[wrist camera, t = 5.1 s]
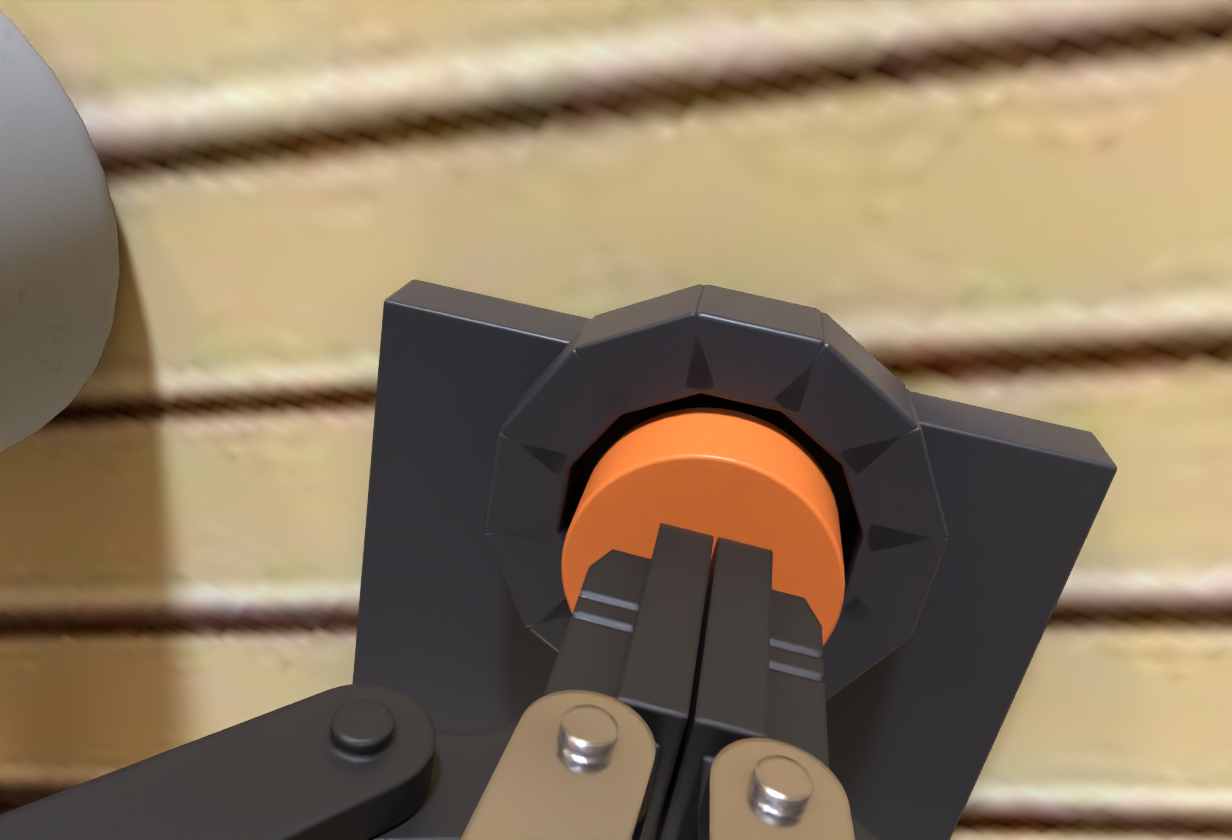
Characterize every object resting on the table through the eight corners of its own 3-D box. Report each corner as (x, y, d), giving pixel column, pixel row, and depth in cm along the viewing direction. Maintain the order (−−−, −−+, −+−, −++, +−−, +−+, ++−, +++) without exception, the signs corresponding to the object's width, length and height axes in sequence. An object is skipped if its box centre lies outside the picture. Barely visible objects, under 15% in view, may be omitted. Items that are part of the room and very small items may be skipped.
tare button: (606, 379, 14) (585, 425, 13) (871, 440, 14) (882, 494, 13) (565, 596, 16) (541, 661, 14) (800, 655, 16) (802, 728, 14)
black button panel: (420, 197, 16) (347, 233, 14) (1127, 352, 16) (1200, 425, 13) (357, 868, 23) (300, 983, 21) (846, 1003, 22) (855, 1141, 20)
